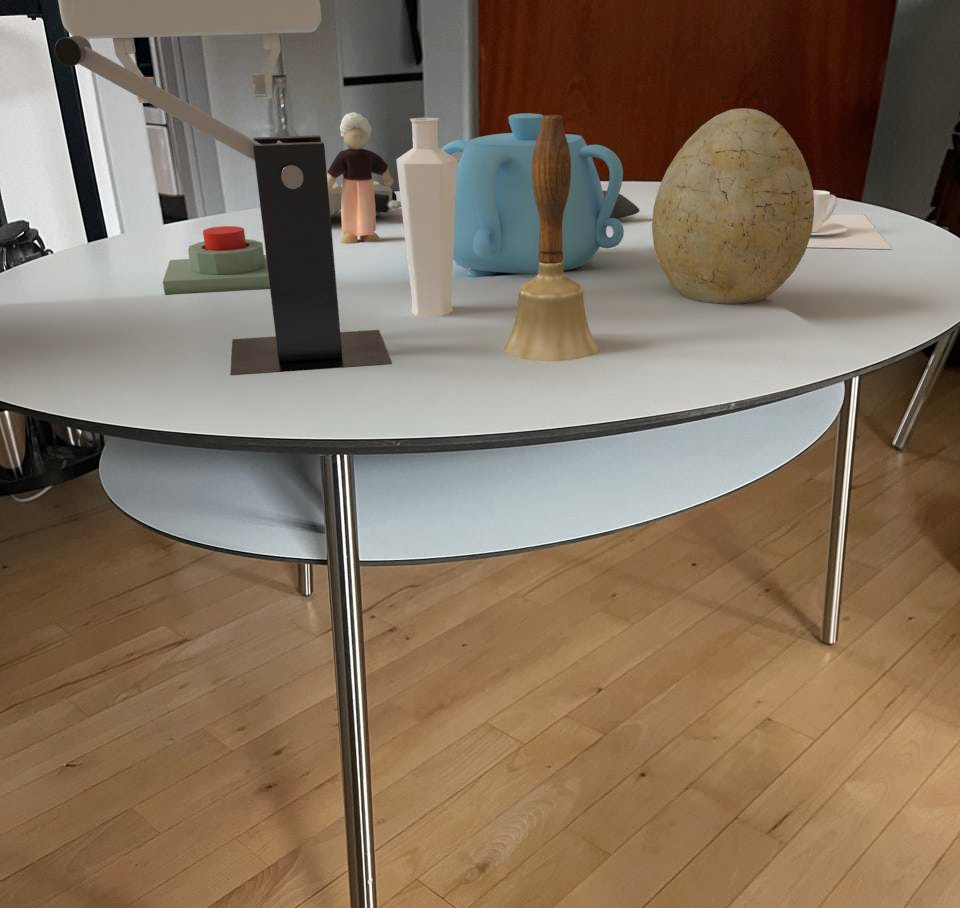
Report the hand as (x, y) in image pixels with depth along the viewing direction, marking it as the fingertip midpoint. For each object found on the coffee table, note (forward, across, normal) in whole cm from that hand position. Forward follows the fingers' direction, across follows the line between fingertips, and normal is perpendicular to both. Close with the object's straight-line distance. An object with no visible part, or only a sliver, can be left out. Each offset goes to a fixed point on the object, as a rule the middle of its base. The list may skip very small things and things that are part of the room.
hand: (206, 100), depth 85 cm
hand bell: (+16, -23, +28) cm, 39 cm away
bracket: (+16, -6, +25) cm, 30 cm away
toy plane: (+16, -36, -31) cm, 50 cm away
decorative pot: (+16, -28, -2) cm, 32 cm away
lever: (0, 0, +25) cm, 25 cm away
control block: (+16, 0, 0) cm, 16 cm away
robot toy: (+16, -12, -35) cm, 40 cm away
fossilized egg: (+16, -41, +16) cm, 47 cm away
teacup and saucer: (+16, -61, -16) cm, 65 cm away
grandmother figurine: (+16, -14, -21) cm, 30 cm away
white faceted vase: (+16, -16, +16) cm, 27 cm away
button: (+12, 0, 0) cm, 12 cm away
